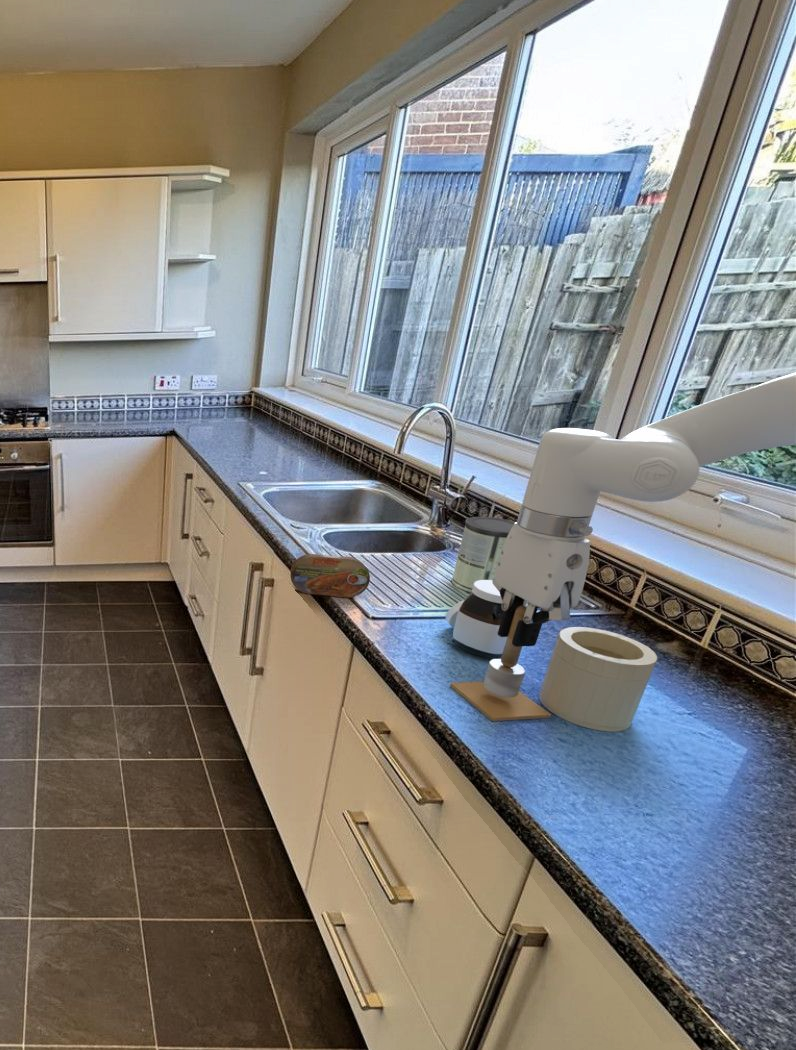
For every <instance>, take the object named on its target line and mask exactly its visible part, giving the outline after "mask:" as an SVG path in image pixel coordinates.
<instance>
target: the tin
mask: <svg viewBox="0 0 796 1050" xmlns="http://www.w3.org/2000/svg"><path fill="white" fill-rule="evenodd" d="M370 580H371V574H370V571H369V569H368V567H367V566H366V565H365V564H364V563H363V562H362V561H361V560H359V559H357V558H355V557H352V556H345V555H344V556H341V555H331V554H329V555H328V554H318V553H307V554H304V555H303V554H302V555H301V556H299V557H297V559H295V561H293V563H292V565H291V568H290V581H291V583H292V585H293V587H294V588H295V589H296V590H297V591H298V592H301V593H303V594H306V595H314V596H328V597H334V598H335V597H336V598H344V599H346V598H347V599H349V598H354V597H357V596H360V595H361V594H363V593H364V592H365V591H366V590H367V589H368V587H369V585H370V582H371V581H370Z"/></svg>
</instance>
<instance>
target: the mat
mask: <svg viewBox="0 0 796 1050" xmlns="http://www.w3.org/2000/svg"><path fill="white" fill-rule="evenodd" d="M483 682H484V680H479V681H461V682H450V684H449V687H450V688H452V689H453V690H454V691H455V692H456V693H458V695H460V696H461V697H462V698H463V699H465V700H466V701H467V702H468V703H470V704H471V705H472V706H473V707H474V708H476V710H478V712H480V713H482V714H483V715H484V716H485V717H487V718H488V719H489V720H490V721H491V722H499V721H500V722H502V721H503V722H505V721H518V720H519V721H520V720H521V721H522V720H536V719H550V718H551V716H552V714H551V713H550V711H548V710H547V709H546V708H545V709H544V707H542V706H540V705H539V704H538V703H536V702H535V701H534V700H532V699H531V698H529V697H528V696H527V695H526V694H524V693H523V692H521V691H520V690H519V693H518V695H517V696H516V697H503V696H499V695H496V694H493V693H491V692H489V691H488V690H487V689H485V688H484V686H483Z"/></svg>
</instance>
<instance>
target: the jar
mask: <svg viewBox="0 0 796 1050" xmlns="http://www.w3.org/2000/svg"><path fill="white" fill-rule="evenodd" d="M658 658H659V657H658V656H657V654H656V652H655V651H654V650H653V649H651V648H650V647H649V646H647V645H645V644H643V643H641V642H640V641H637V640H636V639H633V638H630V637H628V636H626V635H623V634H621V633H617V632H613V631H609V630H605V629H599V628H594V627H586V626H570V627H565V628H562V629H561V630H560V631H559V632H558V635H557V636H556V641H555V644H554V647H553V650H552V653H551V656H550V659H549V662H548V664H547V667H546V671H545V673H544V677H543V679H542V683H541V685H540V689H539V694H538V700H539V701H540V704H541V705H542V706H543V708H545V709H546V710H547V711H548V712H551V713H552V714H553V715H555V716H557V717H558V718H560V719H562V720H565V721H568V722H569V723H571V724H574V725H577V726H580V727H583V728H586V729H590V730H593V731H594V730H595V731H600V732H609V733H617V732H623V731H626V730H627V729H629V728H630V727H631V725H632V722H633V720H634V719H635V716H636V713H637V710H638V708H639V705H640V703H641V701H642V699H643V696H644V693H645V691H646V688H647V687H648V683H649V681H650V678H651V675H652V673H653V671H654V669H655V666H656V664H657V661H658Z"/></svg>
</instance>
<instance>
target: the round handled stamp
mask: <svg viewBox="0 0 796 1050" xmlns="http://www.w3.org/2000/svg"><path fill="white" fill-rule="evenodd" d="M526 608H527V605H526V606H519V607H518V608H517V609H516V610H515V613H514V617H513V620H512V623H511V627H510V630H509V633H508V637H507V640H506V643H505V646H504V650H503V653H502V656H501V657H500V658H491V659H490V660H489V662H488V666H487V668H486V673H485V675H484V679H483V681H484V682H483V686H484V688H485V689H487V690H488V691H489V692H491V693H493V694H496V695H499V696H503V697H516V696H517V695H518V693H519V691H520V690H521V686H522V685H523V680H524V677H525V674H526V669H525V667H523V666H522V665H520V664H519V663H518V662H519V659H520V655H521V653H522V650H523V646H522V647H516V646H514V645H513V644H512V640H513V637H514V634H515V630H516V627H517V624H518V622H519V621H521V620H523V618H524V614H525V611H526Z"/></svg>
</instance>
